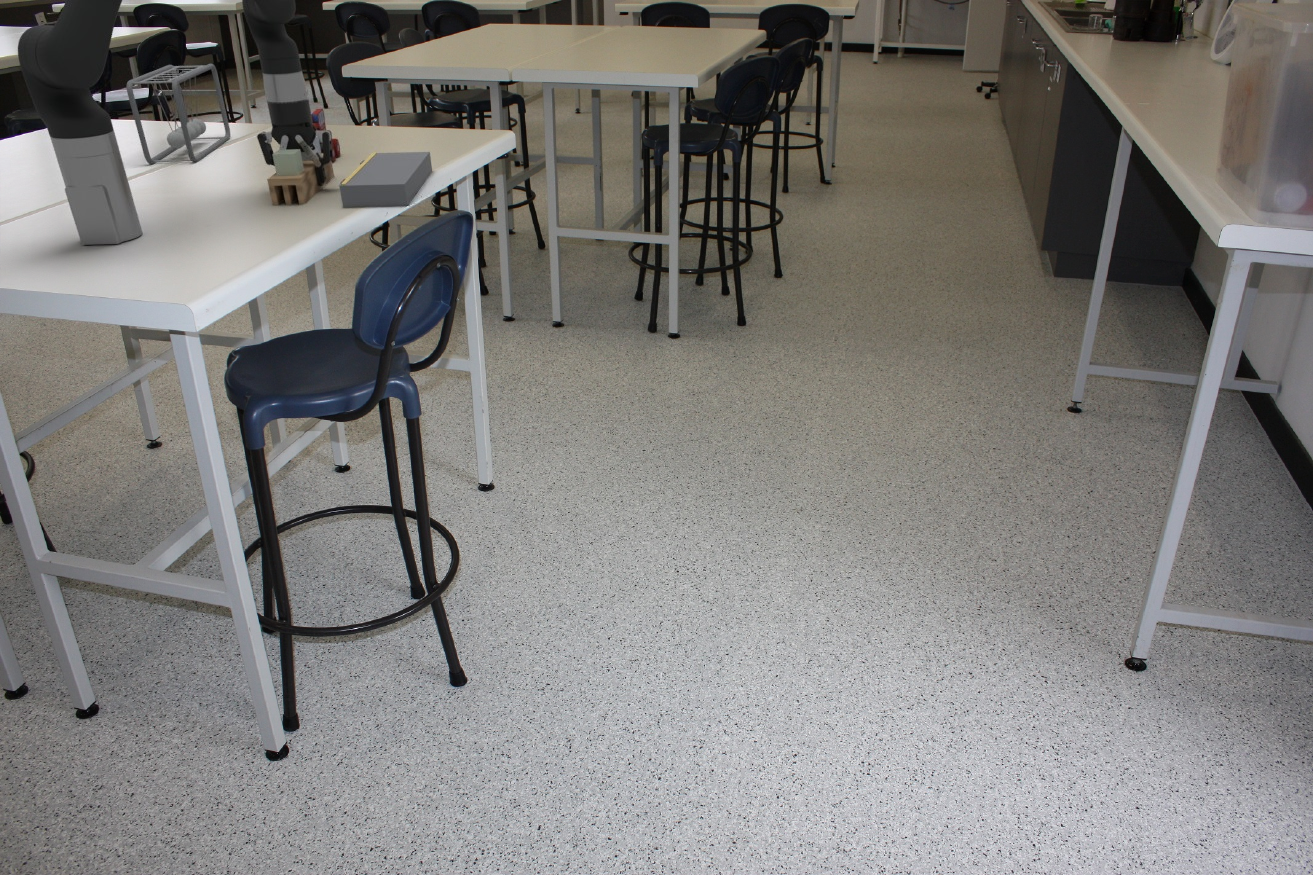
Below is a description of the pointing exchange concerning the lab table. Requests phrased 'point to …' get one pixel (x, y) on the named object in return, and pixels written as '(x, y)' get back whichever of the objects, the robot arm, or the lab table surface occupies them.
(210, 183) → the lab table surface
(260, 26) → the robot arm
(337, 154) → the toy fire truck
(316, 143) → the block
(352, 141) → the lab table surface
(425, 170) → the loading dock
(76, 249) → the lab table surface
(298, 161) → the block
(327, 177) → the tan wooden bar
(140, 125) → the newton's cradle
